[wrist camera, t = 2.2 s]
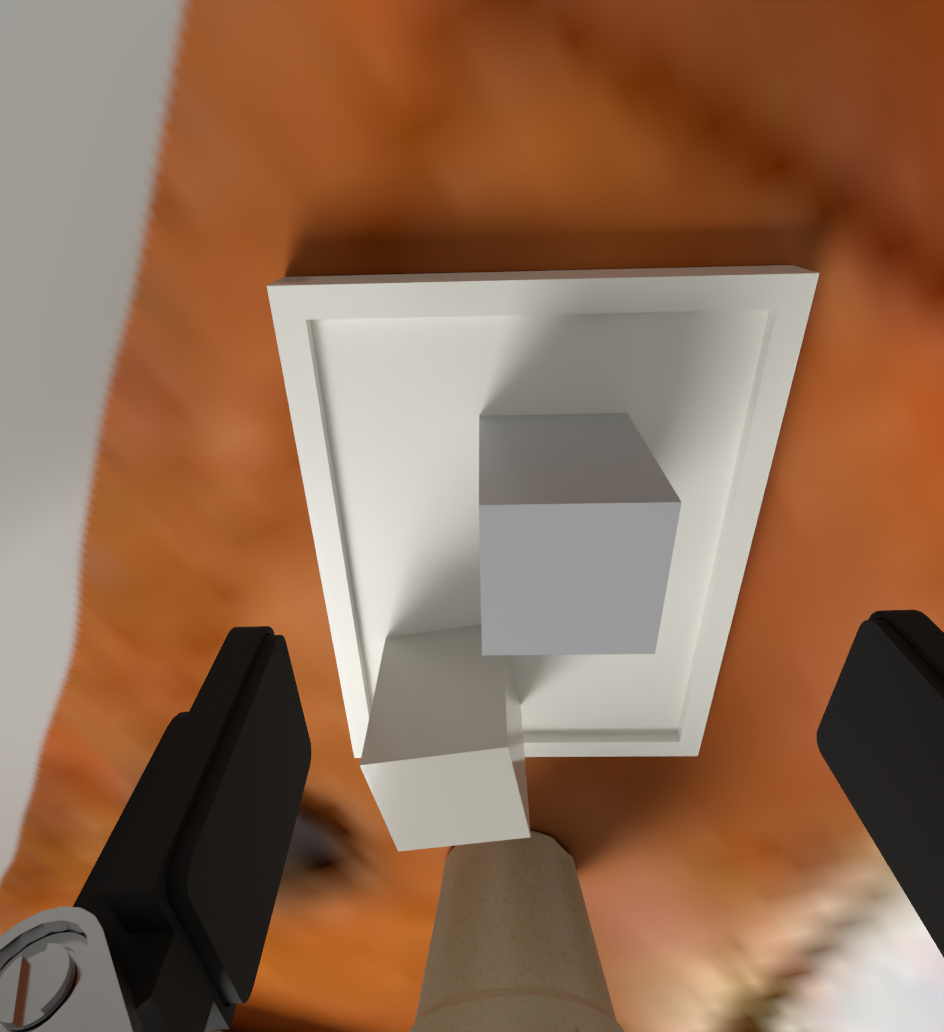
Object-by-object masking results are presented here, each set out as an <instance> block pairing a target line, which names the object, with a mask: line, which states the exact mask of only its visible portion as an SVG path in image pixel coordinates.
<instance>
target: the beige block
mask: <svg viewBox="0 0 944 1032" xmlns="http://www.w3.org/2000/svg"><path fill="white" fill-rule="evenodd" d="M360 767H361V769H362V772H363V774H364V776H365V778H366V781H367V783H368V785H369V787H370V789H371V792H372V794H373V796H374V798H375V801H376V803H377V805H378V807H379V809H380V812H381V814H382V816H383V818H384V821H385V823H386V825H387V827H388V829H389V832H390V834H391V836H392V838H393V841H394V843H395V845H396V847H397V850H398V851H407V850H416V849H426V848H435V847H445V846H454V845H463V844H473V843H482V842H492V841H501V840H510V839H520V838H529V837H531V834H530V821H529V808H528V794H527V781H526V768H525V755H524V742H523V729H522V715H521V704H520V699H519V695H518V690H517V686H516V682H515V677H514V673H513V668H512V664H511V659H510V655H482V634H481V624H477V625H471V626H464V627H457V628H450V629H443V630H437V631H430V632H423V633H416V634H409V635H403V636H396V637H389V638H385V643H384V648H383V653H382V658H381V663H380V668H379V673H378V678H377V683H376V688H375V693H374V697H373V702H372V707H371V712H370V717H369V722H368V727H367V732H366V737H365V742H364V747H363V752H362V757H361V761H360Z"/></svg>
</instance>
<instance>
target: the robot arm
mask: <svg viewBox="0 0 944 1032" xmlns="http://www.w3.org/2000/svg"><path fill="white" fill-rule="evenodd" d="M817 744H818V747H819V750H820V752H821V754H822V756H823V758H824V759H825V761H826V763H827V764H828V766H829V768H830V769H831V771H832V773H833V774H834V776H835V778H836V779H837V781H838V783H839V784H840V786H841V788H842V789H843V791H844V793H845V794H846V796H847V798H848V799H849V801H850V803H851V804H852V806H853V808H854V809H855V811H856V813H857V814H858V816H859V818H860V819H861V821H862V823H863V824H864V826H865V828H866V829H867V831H868V832H869V834H870V836H871V837H872V839H873V841H874V842H875V844H876V846H877V847H878V849H879V851H880V852H881V854H882V856H883V857H884V859H885V861H886V862H887V864H888V866H889V867H890V869H891V871H892V872H893V874H894V876H895V877H896V879H897V881H898V882H899V884H900V886H901V887H902V889H903V891H904V892H905V894H906V896H907V897H908V899H909V901H910V902H911V904H912V906H913V907H914V909H915V911H916V912H917V914H918V916H919V917H920V919H921V920H922V922H923V924H924V925H925V927H926V929H927V930H928V932H929V934H930V935H931V937H932V939H933V940H934V942H935V944H936V945H937V947H938V949H939V950H940V952H941V954H942V955H943V957H944V633H943V632H942V631H941V630H940V629H939V628H938V627H937V626H936V625H935V624H934V623H933V622H932V621H931V620H930V619H929V618H928V617H927V616H926V615H925V614H923V613H922V612H920V611H917V610H890V611H876V612H875V613H873V614H872V615H871V616H870V618H869V620H866V621H864V622H863V623H862V624H861V625H860V627H859V629H858V632H857V634H856V637H855V639H854V642H853V644H852V647H851V649H850V652H849V654H848V656H847V659H846V661H845V664H844V666H843V669H842V671H841V674H840V676H839V679H838V681H837V683H836V686H835V688H834V691H833V693H832V696H831V698H830V701H829V703H828V706H827V708H826V710H825V713H824V715H823V718H822V720H821V723H820V725H819V728H818V731H817ZM310 762H311V743H310V738H309V734H308V730H307V726H306V722H305V718H304V714H303V710H302V706H301V702H300V698H299V694H298V690H297V686H296V681H295V677H294V673H293V669H292V665H291V661H290V657H289V653H288V649H287V645H286V641H285V638H284V637H283V635H274V632H273V630H272V628H271V627H268V626H262V627H234V628H233V629H231V630H230V632H229V633H228V635H227V637H226V639H225V641H224V643H223V645H222V647H221V649H220V651H219V653H218V655H217V657H216V659H215V661H214V663H213V665H212V667H211V669H210V671H209V673H208V675H207V677H206V679H205V681H204V683H203V685H202V687H201V689H200V691H199V693H198V695H197V697H196V699H195V701H194V703H193V705H192V707H191V709H190V711H189V712H182V713H179V714H178V715H176V716H175V717H174V718H173V719H172V721H171V722H170V724H169V725H168V727H167V729H166V731H165V732H164V734H163V736H162V738H161V740H160V742H159V744H158V746H157V748H156V750H155V751H154V753H153V755H152V757H151V759H150V761H149V763H148V765H147V767H146V769H145V770H144V772H143V774H142V776H141V778H140V780H139V782H138V784H137V786H136V788H135V790H134V791H133V793H132V795H131V797H130V799H129V801H128V803H127V805H126V807H125V809H124V810H123V812H122V814H121V816H120V818H119V820H118V822H117V824H116V826H115V828H114V829H113V831H112V833H111V835H110V837H109V839H108V841H107V843H106V845H105V847H104V848H103V850H102V852H101V854H100V856H99V858H98V860H97V862H96V864H95V866H94V868H93V869H92V871H91V873H90V875H89V877H88V879H87V881H86V883H85V885H84V887H83V888H82V890H81V892H80V894H79V896H78V898H77V900H76V902H75V904H74V906H73V907H65V906H62V907H58V908H54V909H50V910H46V911H42V912H39V913H37V914H35V915H33V916H31V917H29V918H27V919H25V920H23V921H21V922H19V923H18V924H16V925H15V926H14V927H12V928H11V929H10V930H8V931H7V932H6V933H4V934H3V935H2V936H0V1032H204V1031H205V1030H222V1029H230V1026H231V1023H232V1019H233V1015H234V1011H235V1008H236V1004H237V1003H245V1002H247V1000H248V999H249V997H250V994H251V992H252V989H253V986H254V982H255V978H256V974H257V971H258V967H259V963H260V959H261V955H262V951H263V947H264V943H265V939H266V935H267V931H268V928H269V924H270V920H271V916H272V912H273V908H274V904H275V900H276V896H277V892H278V888H279V885H280V881H281V877H282V873H283V869H284V865H285V861H286V857H287V853H288V849H289V845H290V842H291V838H292V834H293V830H294V826H295V822H296V818H297V814H298V810H299V806H300V802H301V799H302V795H303V791H304V787H305V783H306V779H307V775H308V771H309V767H310Z"/></svg>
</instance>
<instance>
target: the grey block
mask: <svg viewBox="0 0 944 1032" xmlns="http://www.w3.org/2000/svg"><path fill="white" fill-rule="evenodd" d="M681 503H682V502H681V500H680V499H679V497H678V495H677V494H676V492H675V490H674V489H673V487H672V486H671V484H670V482H669V481H668V479H667V477H666V476H665V474H664V472H663V471H662V469H661V468H660V466H659V464H658V463H657V461H656V459H655V458H654V456H653V454H652V453H651V451H650V449H649V448H648V446H647V445H646V443H645V441H644V440H643V438H642V436H641V435H640V433H639V431H638V430H637V428H636V426H635V425H634V423H633V422H632V420H631V418H630V417H629V415H628V413H603V414H548V415H493V416H479V536H480V585H481V634H482V655H591V654H655V651H656V646H657V640H658V634H659V629H660V623H661V617H662V611H663V606H664V600H665V594H666V588H667V583H668V577H669V571H670V566H671V560H672V554H673V548H674V543H675V537H676V531H677V526H678V520H679V514H680V508H681Z"/></svg>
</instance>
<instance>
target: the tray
mask: <svg viewBox="0 0 944 1032" xmlns="http://www.w3.org/2000/svg"><path fill="white" fill-rule="evenodd" d="M204 1032H222V1031H218V1030H205V1031H204Z"/></svg>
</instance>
